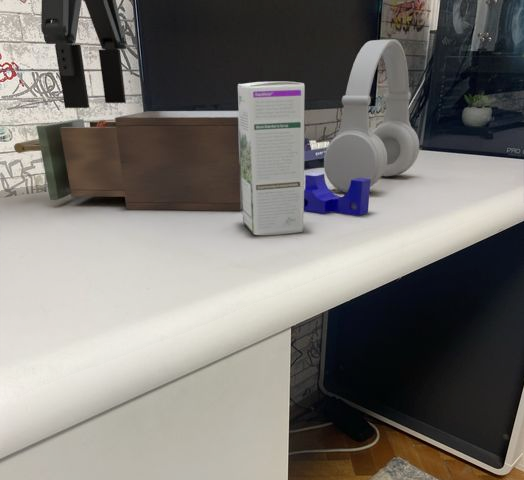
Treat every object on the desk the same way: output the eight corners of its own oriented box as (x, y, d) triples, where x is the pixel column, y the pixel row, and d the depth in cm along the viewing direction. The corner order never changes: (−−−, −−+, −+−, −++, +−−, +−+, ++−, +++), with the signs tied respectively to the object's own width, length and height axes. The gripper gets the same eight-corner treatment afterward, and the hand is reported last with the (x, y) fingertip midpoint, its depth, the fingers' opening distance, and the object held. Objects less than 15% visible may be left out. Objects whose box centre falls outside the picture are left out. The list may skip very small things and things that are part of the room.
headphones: (369, 172, 92) (379, 44, 84) (417, 175, 88) (433, 41, 80) (320, 192, 77) (325, 37, 68) (375, 197, 73) (389, 34, 64)
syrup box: (305, 232, 57) (309, 81, 50) (251, 236, 56) (248, 82, 49) (289, 220, 62) (291, 80, 55) (240, 224, 61) (235, 81, 54)
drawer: (15, 199, 70) (-2, 126, 66) (55, 183, 80) (43, 119, 76) (151, 201, 68) (143, 125, 64) (174, 184, 78) (169, 118, 74)
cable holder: (297, 209, 67) (298, 176, 65) (313, 204, 70) (314, 172, 68) (353, 218, 63) (355, 183, 61) (367, 212, 65) (370, 178, 63)
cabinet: (126, 209, 68) (114, 117, 63) (154, 190, 80) (147, 111, 75) (240, 211, 67) (237, 117, 62) (253, 191, 78) (251, 110, 73)
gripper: (50, -151, 48) (88, 110, 58) (137, -81, 70) (153, 101, 79) (-28, -147, 49) (22, 110, 59) (81, -79, 70) (105, 101, 80)
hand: (98, 105), depth 69 cm, fingers open, 12 cm apart
